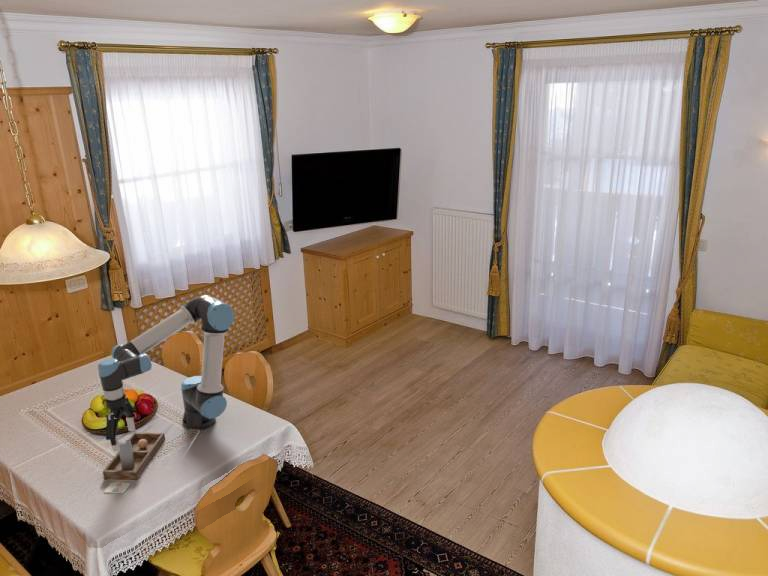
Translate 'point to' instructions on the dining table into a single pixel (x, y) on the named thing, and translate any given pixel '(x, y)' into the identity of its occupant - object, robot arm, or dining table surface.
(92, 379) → the dining table surface
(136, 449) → the tray
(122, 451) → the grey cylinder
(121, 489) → the card
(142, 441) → the ball
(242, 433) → the dining table surface
